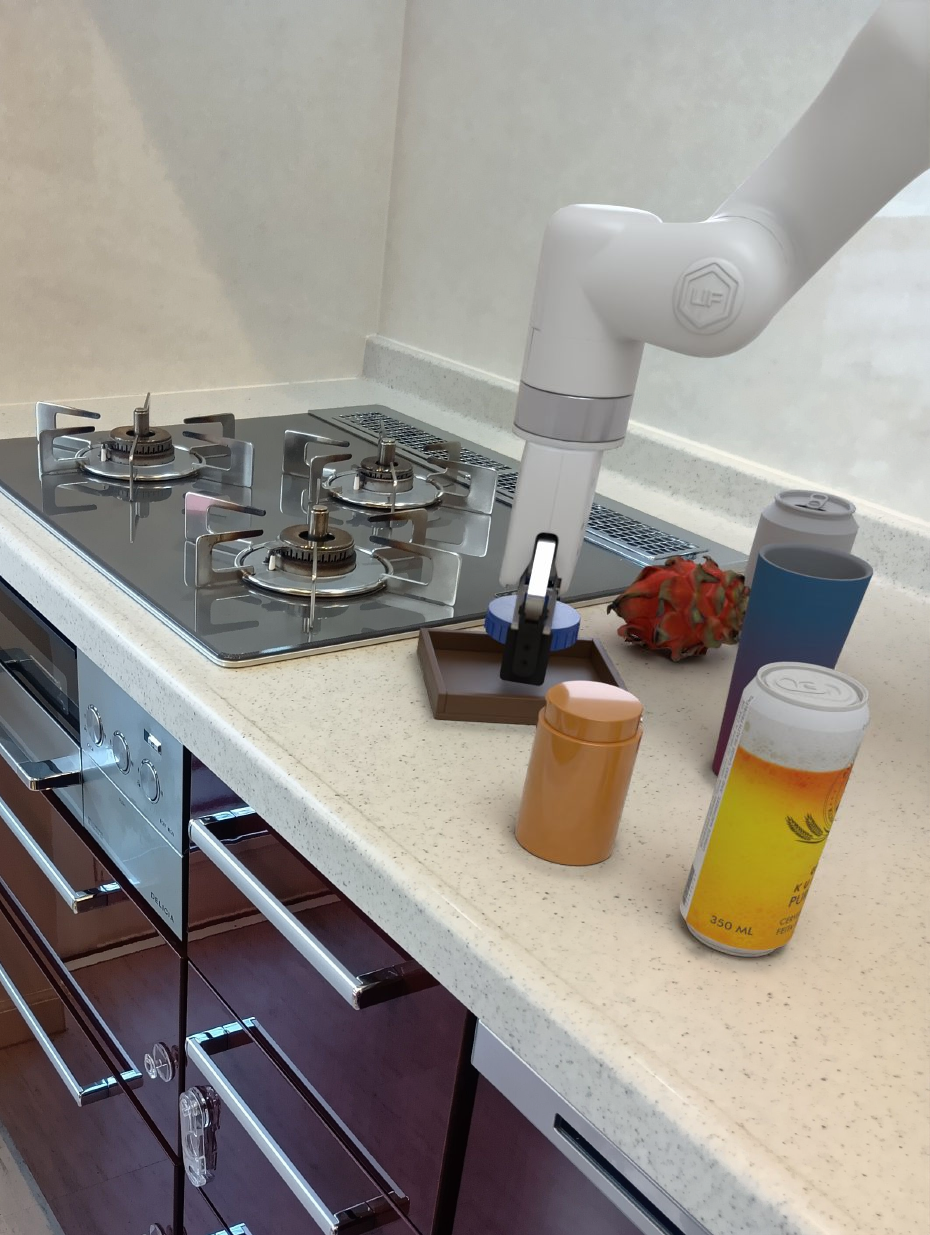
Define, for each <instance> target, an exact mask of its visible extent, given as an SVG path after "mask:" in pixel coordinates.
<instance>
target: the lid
mask: <svg viewBox="0 0 930 1235" xmlns="http://www.w3.org/2000/svg"><path fill="white" fill-rule="evenodd" d="M516 598H517V594H513V595H511V594H510V595H504V596H500V597H497V598H494V599H492V600H491V601H490V602H489V604H488V606H487V610H486V612H485V617H484V624H483V628H484V629H485V630H484V631H485V632H487V634H488V635H489V636H490V637H492V638H493V639H495V640H496V641H498V642H500V643H503V644H505V641H506V635H507V629H508V625H512V619H513V614H514V609H515V603H516ZM526 598H527V595H525V597H524V601H526ZM548 602H549V598H545V601H544V604H546V605H547V607H548ZM544 623H545V620H544ZM580 628H581V614H580V612H579V611H578V610H577V609H575V608H574V607H572V606H570V605H568V604H567V603H564V602H562V601H560V602H559V601H556V605H555V610H554V615H553V620H552V625H551V631H552V632H554V634H553V639H552V644H551V649H550V651H557V650H562V649H566V648H568V647H570V646H572V645H573V644H574V643H575V642H577V638H578V637H579V633H580Z"/></svg>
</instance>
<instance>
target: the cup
mask: <svg viewBox="0 0 930 1235" xmlns="http://www.w3.org/2000/svg"><path fill="white" fill-rule="evenodd" d="M873 575H874V568H873V567H872V565H871V564H870V563H869V562H867V561H866V560H864V559H863V558H861V557H858V556H857V555H854V554H852V553H850V554H849V553H846V552H843V551H840V550H837V549H833V548H829V547H824V546H819V545H813V544H805V543H792V542H784V543H773V544H769V545H766V546H763V547H762V548H761V549H760V550H759V554H758V558H757V563H756V567H755V572H754V577H753V581H752V586H751V590H750V595H749V600H748V604H747V609H746V613H745V618H744V623H743V627H742V632H741V636H740V638H739V639H740V641H739V643H738V645H737V651H736V655H735V660H734V663H733V669H732V673H731V679H730V682H729V688H728V692H727V695H726V696H727V697H726V701H725V705H724V710H723V714H722V715H723V716H722V718H721V719H722V720H721V725H720V728H719V734H718V739H717V742H716V748H715V751H714V757H713V761H712V766H711V768H712V771H713V772H714V774H715V775H716V776H718V775H719V772H720V768H721V765H722V761H723V758H724V755H725V751H726V748H727V744H728V741H729V738H730V734H731V731H732V727H733V724H734V721H735V717H736V714H737V710H738V707H739V704H740V700H741V697H742V693H743V690H744V688H745V687H746V686H747V685H748V684H749V683H750V682H751V681H752V680H753V679H754V677H755V676H756V675H757V672H758V670H759V669H760V668H761V667H763V666H765V665H767V664H771V663H777V662H799V663H807V664H813V665H818V666H822V667H826V668H829V669H833V670H835V668H836V665H837V664H838V661H839V658H840V656H841V653H842V651H843V649H844V646H845V644H846V642H847V638H848V636H849V634H850V632H851V630H852V626H853V624H854V621H855V619H856V618H857V614H858V612H859V609H860V608H861V605H862V602H863V600H864V597H865V595H866V593H867V591H868V588H869V585H870V582H871V580H872V577H873Z"/></svg>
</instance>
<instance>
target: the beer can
mask: <svg viewBox="0 0 930 1235" xmlns="http://www.w3.org/2000/svg"><path fill="white" fill-rule="evenodd" d="M869 696H870V694H869V691H868V689H867V688H866V687H865V686H864V684H862V683H861V682H860V681H858V680H857V679H855V678H853V677H852V676H850V675H848V674H846V673H843V672H841V671H838V670H835V669H834V670H833V669H829V668H826V667H822V666H818V665H813V664H807V663H799V662H777V663H771V664H767V665H765V666H763V667H761V668H760V669H759V670H758V672H757V675H756V676H755V677H754V679H753V680H752V681H751V682H750V683H749V684H748V685H747V686H746V687H745V688H744V690H743V693H742V697H741V700H740V704H739V707H738V710H737V714H736V717H735V721H734V724H733V727H732V731H731V734H730V738H729V741H728V744H727V748H726V751H725V755H724V758H723V761H722V765H721V768H720V772H719V775H717V779H716V782H715V785H714V789H713V792H712V795H711V799H710V802H709V805H708V809H707V813H706V816H705V819H704V822H703V825H702V830H701V833H700V837H699V839H698V843H697V847H696V850H695V853H694V857H693V860H692V864H691V867H690V871H689V873H688V877H687V881H686V884H685V886H684V887H685V888H684V890H683V893H682V897H681V901H680V904H679V910H680V913H681V914H680V915H682V917H683V919H684V921H685V922H686V926H687V929H688V930H689V932H690V934H692V935H693V936H694V937H695V939H697V940H698V941H699V942H701V943H702V944H704V945H705V946H707V947H709V948H711V949H713V950H715V951H718V952H721V953H723V954H727V955H731V956H736V957H742V958H743V957H744V958H755V957H756V958H757V957H763V956H766V955H768V954H771V953H772V952H774V951H775V950H776V949H778V948H781V947H783V946H785V945H787V944H789V942H790V941H791V940H792V937H793V935H794V932H795V930H796V927H797V925H798V921H799V918H800V916H801V913H802V910H803V907H804V905H805V902H806V899H807V897H808V893H809V891H810V888H811V886H812V882H813V880H814V876H815V874H816V871H817V868H818V866H819V862H820V860H821V857H822V854H823V851H824V848H825V846H826V843H827V840H828V838H829V834H830V832H831V829H832V827H833V824H834V821H835V819H836V815H837V812H838V810H839V807H840V804H841V802H842V799H843V796H844V793H845V790H846V787H847V785H848V782H849V779H850V777H851V773H852V770H853V768H854V765H855V762H856V759H857V757H858V754H859V751H860V749H861V745H862V743H863V739H864V737H865V734H866V732H867V729H868V726H869V723H870V720H871V716H870V715H871V714H870V709H869V703H868V700H869Z"/></svg>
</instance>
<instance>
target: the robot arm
mask: <svg viewBox="0 0 930 1235" xmlns="http://www.w3.org/2000/svg"><path fill="white" fill-rule="evenodd" d="M928 170H930V0H884V1H882V2H881V3H880V5H879V6H878V7H877V8H876V10H875V11H874V12H873V13H872V14H871V16H870V17H869V19H867V21H865V24H864V25H863V26H862V27H861V29H860V30H859V31H858V33H857V34H856V35H855V37H854V38H853V40H852V41H851V43H850V44H849V45H848V47H847V49H846V51H845V52H844V54H843V56H842V58H841V59H840V60H839V63H838V64H837V66H836V68H835V70H834V71H833V73H832V74H831V76H830V78H829V79H828V81H827V82H826V84H824V86H823V88H822V89H821V90H820V92H819V93H818V94H817V96H816V97H815V99H814V100H813V101H812V103H811V104H810V105H809V107H808V108H807V109H806V110H805V111H804V112H803V114H801V116H800V117H799V119H798V120H797V121H796V122H795V123H794V125H792V127H791V128H790V129H789V130H788V131H787V133H786V134H785V135H783V137H782V138H781V139H780V141H779V142H777V144H776V145H775V146H774V147H773V148H772V149H771V151H770V152H769V153H768V154H767V155H766V156H765V157H764V158H763V160H762V161H761V162H760V163H759V164H758V165H757V166H756V167H755V168H754V169H753V171H752V172H751V173H750V174H749V175H748V176H747V177H746V178H745V179H744V180H743V181H742V182H741V183H740V184H739V186H738V187H737V188H736V189H735V190H734V191H733V192H732V193H731V194H730V196H729V197H727V199H726V200H724V202H723V203H722V204H721V205H720V206H719V207H718V208H717V209H716V210H715V211H714V212H713V213H712V214H711V215H710V217H708V219H706V220H705V221H699V222H663V220H662V219H661V218H660V217H659V216H657V215H656V214H655V213H652V212H650V211H646V210H644V209H639V208H634V207H628V206H627V207H626V206H619V205H612V204H599V203H598V204H597V203H579V204H569V205H565V206H563V207H561V208H559V209H557V210H556V211H554V213H553V214H552V215H551V217H550V218H549V220H548V222H547V224H546V225H545V229H544V234H543V238H542V244H541V248H540V256H539V263H538V267H537V274H536V280H535V286H534V291H533V299H532V304H531V312H530V316H529V323H528V330H527V336H526V342H525V348H524V355H523V361H522V366H521V373H520V380H519V386H518V392H517V398H516V404H515V408H514V409H515V410H514V416H513V421H512V427H511V432H512V433H513V434H514V435H515V436H516V437H518V438H520V439H521V440H524V441H525V443H524V445H523V450H522V453H521V454H522V455H521V458H520V463H519V468H518V473H517V479H516V483H515V489H514V493H513V499H512V500H513V501H512V505H511V510H510V517H509V522H508V528H507V535H506V540H505V546H504V550H503V555H502V556H503V557H502V562H501V566H500V567H501V568H500V573H499V579H498V583H499V584H500V586H501V587H502V588H503V589H504V588H505V589H507V588H508V586H509V585H510V586H516V585H517V584H518V582H519V584H518V586H517V593H516V595H517V598H516V603H515V609H514V614H513V619H512V625H508V629H507V635H506V641H505V646H504V652H503V658H502V663H501V669H500V678H501V679H502V680H504V681H510V682H516V683H522V684H529V685H535V686H541V685H543V683H544V680H545V675H546V670H547V665H548V660H549V654H550V649H551V644H552V639H553V634H554V632H552V631H551V625H552V620H553V615H554V610H555V605H556V601H559V602H561V596H562V595H564V594H566V593H567V592H568V591H569V588H570V586H571V583H572V579H573V576H574V573H575V570H576V568H577V564H578V560H579V557H580V553H581V551H582V547H583V544H584V539H585V536H586V532H587V528H588V525H589V521H590V517H591V511H592V508H593V503H594V499H595V494H596V490H597V485H598V481H599V476H600V471H601V466H602V462H603V458H604V457H603V456H604V452H605V451H611V450H615V449H619V448H621V447H622V446H624V444H625V441H626V436H627V431H628V425H629V421H630V417H631V412H632V408H633V407H632V406H633V401H634V397H635V391H636V386H637V382H638V378H639V372H640V368H641V364H642V360H643V354H644V349H645V346H646V345H645V344H649V345H652V346H655V347H658V348H661V349H665V350H667V351H670V352H674V353H677V354H680V355H684V356H688V357H694V358H700V359H701V358H702V359H703V358H704V359H714V358H720V357H725V356H729V355H731V354H735V353H737V352H739V351H741V350H743V349H744V348H746V347H747V346H749V345H750V344H751V343H753V342H754V341H755V340H756V339H757V338H758V337H759V336H760V335H761V334H762V333H763V332H764V331H765V329H766V328H767V327H768V326H769V325H770V323H771V322H772V320H773V319H774V317H775V316H776V315H777V314H778V313H780V311H781V310H782V309H783V307H784V306H785V305H786V304H788V302H790V300H791V299H792V298H793V297H795V295H796V294H797V293H798V292H799V291H800V290H801V289H802V288H803V287H804V286H805V285H806V284H807V283H808V282H809V281H810V280H811V279H812V278H813V277H814V276H815V275H816V274H817V273H818V272H819V270H821V269H822V268H823V267H824V266H825V265H826V264H827V263H828V262H829V261H830V260H831V259H832V258H833V257H834V256H835V255H836V254H837V253H838V252H839V251H840V250H841V249H842V248H843V247H844V246H845V245H846V244H847V243H848V242H849V241H850V240H851V239H852V238H853V237H854V236H855V235H856V234H857V233H858V232H859V231H860V230H861V229H862V228H863V227H865V225H867V223H868V222H870V221H871V219H873V218H874V217H875V216H876V215H877V214H878V213H879V212H880V211H881V210H882V209H883V208H884V207H885V206H886V205H887V204H888V203H890V202H891V201H892V200H893V199H894V198H895V197H896V196H897V195H898V194H899V193H901V192H902V190H904V189H905V188H906V187H907V186H908V185H910V184H911V183H912V182H913V181H914V180H916V179H917V178H919V177H920V176H921V175H922V174H924V173H925V172H927V171H928ZM525 595H527V598H526V601H524V597H525ZM545 598H549V602H548V607H547V605H546V604H544V601H545ZM544 620H545V623H544Z"/></svg>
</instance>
